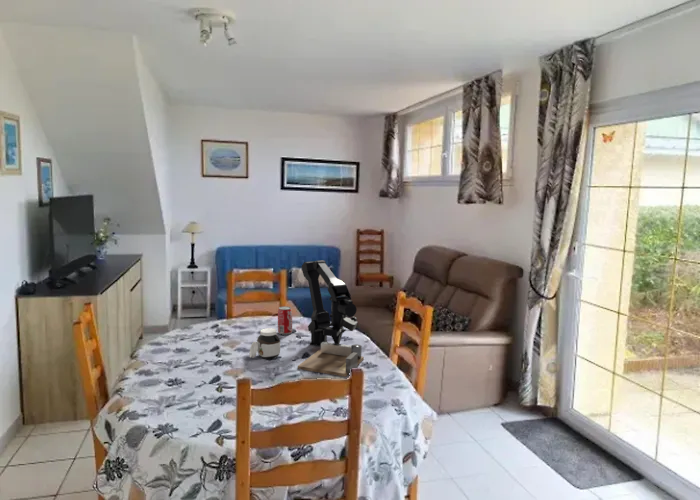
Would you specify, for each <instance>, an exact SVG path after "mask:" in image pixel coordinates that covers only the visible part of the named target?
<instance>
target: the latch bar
mask: <svg viewBox="0 0 700 500" xmlns="http://www.w3.org/2000/svg"><path fill="white" fill-rule="evenodd" d="M320 350H321V352H323V353H330V354H336V355H343V356H349V355H350V354H352V353H353V352H355V353H358V359H359V358H361V356H362V345H361V344H358V343H355V344H351V345H348V344H342V343H340V344H336V343H334V342H328V341H327V342H322V343H321V346H320Z"/></svg>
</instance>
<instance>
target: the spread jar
mask: <svg viewBox="0 0 700 500" xmlns="http://www.w3.org/2000/svg"><path fill="white" fill-rule="evenodd" d="M259 331H260V335H258V336H257V338H256V341H253V342H252V343H251V345H250V349H249V358H251V359H254V358H255V357H256V355H258V357H259V358H261V359H262V360H273V359H276V358H278V357H279V355H280V354H281V339H280V337H279V335H278V334H277V329H276V328H271V327H270V328H267V327H266V328H263V329H261V330H259Z"/></svg>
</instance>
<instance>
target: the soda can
mask: <svg viewBox="0 0 700 500" xmlns="http://www.w3.org/2000/svg"><path fill="white" fill-rule="evenodd" d="M277 333H278V334H279V335H281V334H282V335H283V336H287V334H288V335H291V334H292V333H293V310H292V307H291V306H287V305H286V306H285V305H284V306H279V307H278V310H277Z"/></svg>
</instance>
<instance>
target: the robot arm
mask: <svg viewBox="0 0 700 500" xmlns="http://www.w3.org/2000/svg"><path fill="white" fill-rule="evenodd" d="M301 271H302V275H303V277H304V278H305V279H306V280H307V282H308V288H309V294H310V299H311V306H312V314H311V317H310V319H311V321H310V323H309V324H308V326H307V328H308V332H310V338H311V339H310V341H311V342H309V345H311V346H320V347H321V343H322V342H328V337H331V338H332V341H333V343H336V344H341V339H342V337H343V334H344V333H345V332H346V331H347V330H348V331H350V332H353V331H354V330H356V327H357V325H358V320H357V317H356V316H355V315H356V313H357V306H356V305H355V304H354V303H353V300H352V297H351V294H350V291H349V288H348V285H347V284H346V283H345V282H343V280H341V279H339V278H337V277H336V276H335V274H334V273H333V272H332V271H331V269H330V268H329V266H328V264H327V262H326V260H315V261H304V262H303V264H302V265H301ZM320 277H321V278H322V280H323V281H324V282H325V283H326V285H327V291H328V293H329V295H330V297H329V301H331V313H329V311H326V309H324V303H323V297H322V293H321V285H320V281H319V278H320ZM344 328H345V329H344Z"/></svg>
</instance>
